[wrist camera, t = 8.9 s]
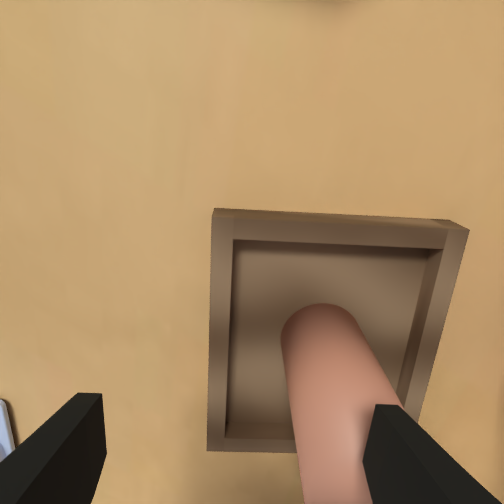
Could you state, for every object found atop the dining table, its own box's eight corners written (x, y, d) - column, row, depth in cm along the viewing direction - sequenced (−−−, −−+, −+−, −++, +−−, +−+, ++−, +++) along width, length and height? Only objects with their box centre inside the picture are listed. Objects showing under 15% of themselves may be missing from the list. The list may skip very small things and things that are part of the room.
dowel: (354, 372, 21) (427, 543, 12) (278, 370, 21) (299, 542, 12) (364, 304, 19) (455, 446, 11) (282, 302, 19) (310, 444, 11)
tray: (396, 431, 23) (408, 455, 22) (209, 426, 23) (206, 451, 21) (449, 219, 19) (469, 229, 17) (214, 208, 18) (211, 216, 16)
